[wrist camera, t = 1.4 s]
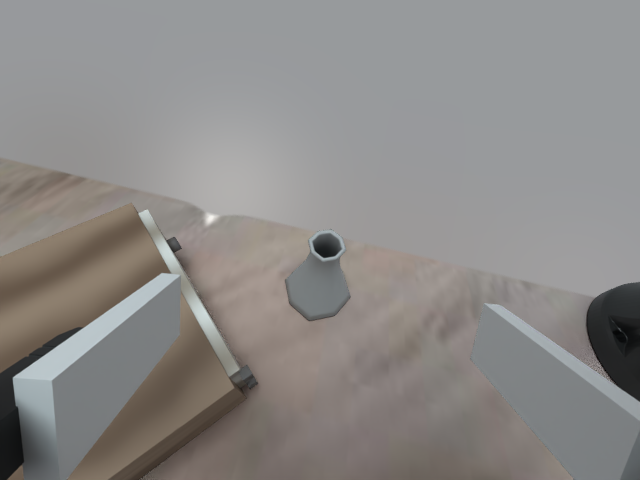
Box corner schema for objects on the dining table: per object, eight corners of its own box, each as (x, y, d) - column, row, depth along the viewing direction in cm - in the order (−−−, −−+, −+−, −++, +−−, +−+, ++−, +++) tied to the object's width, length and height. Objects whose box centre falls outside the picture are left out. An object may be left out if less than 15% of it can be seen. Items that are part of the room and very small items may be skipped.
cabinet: (263, 386, 30) (256, 371, 23) (83, 521, 23) (1, 556, 17) (175, 238, 37) (150, 195, 30) (22, 312, 31) (-52, 278, 24)
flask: (305, 333, 33) (312, 298, 24) (274, 278, 36) (270, 230, 27) (360, 300, 35) (384, 258, 27) (327, 252, 38) (338, 200, 30)
